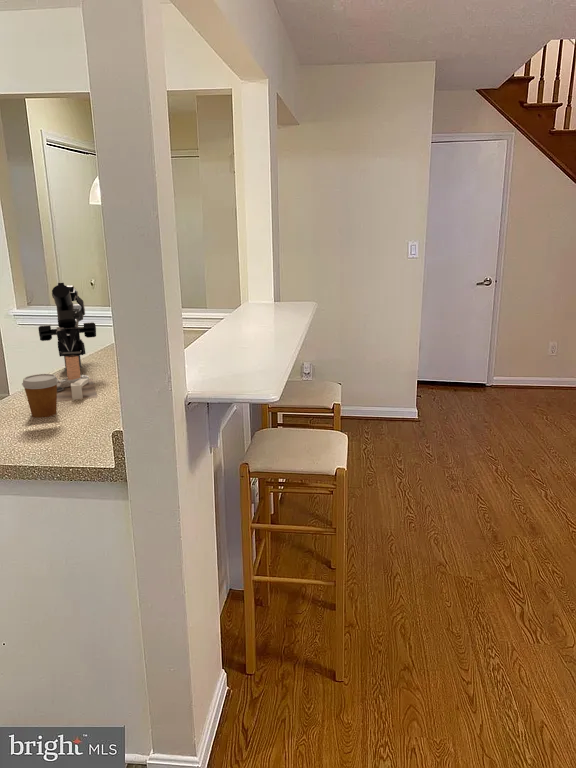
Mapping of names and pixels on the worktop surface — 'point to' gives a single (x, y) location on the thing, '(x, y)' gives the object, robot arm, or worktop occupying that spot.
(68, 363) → the lever link
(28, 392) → the disposable coffee cup
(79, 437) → the worktop surface
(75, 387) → the block
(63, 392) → the walnut board
